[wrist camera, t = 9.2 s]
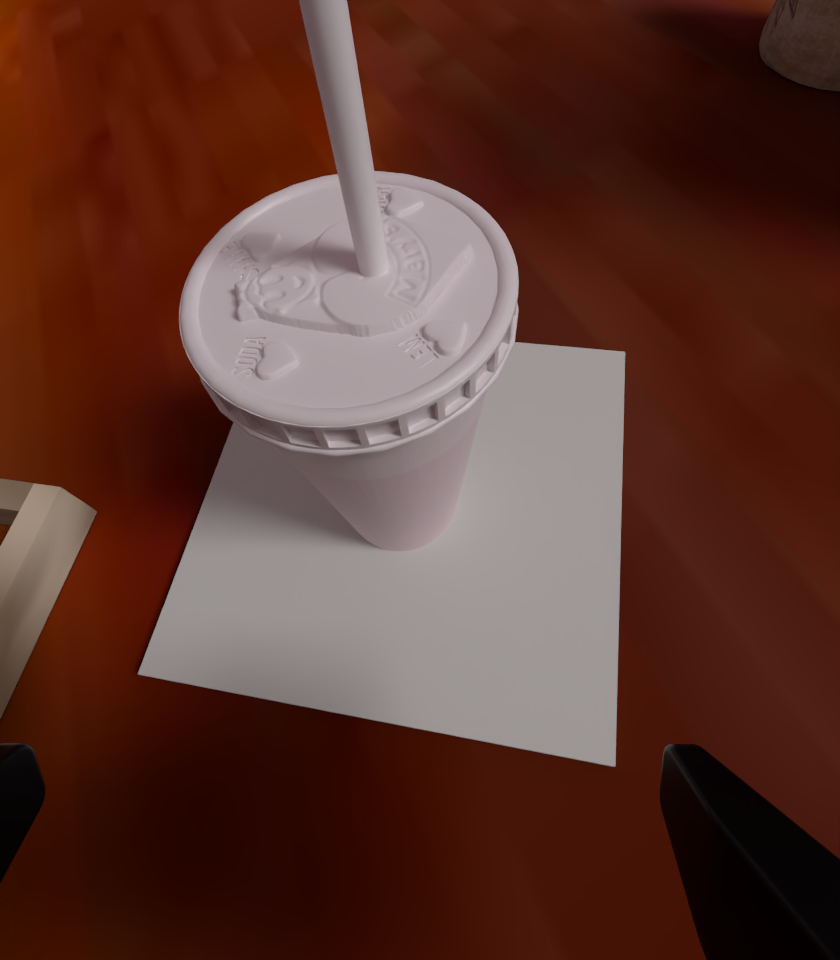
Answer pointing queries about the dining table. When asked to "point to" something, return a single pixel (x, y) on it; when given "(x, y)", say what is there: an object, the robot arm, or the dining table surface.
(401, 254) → the smoothie
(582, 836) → the dining table surface
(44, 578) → the holder
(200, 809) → the dining table surface
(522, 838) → the dining table surface
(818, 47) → the figurine
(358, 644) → the mat
